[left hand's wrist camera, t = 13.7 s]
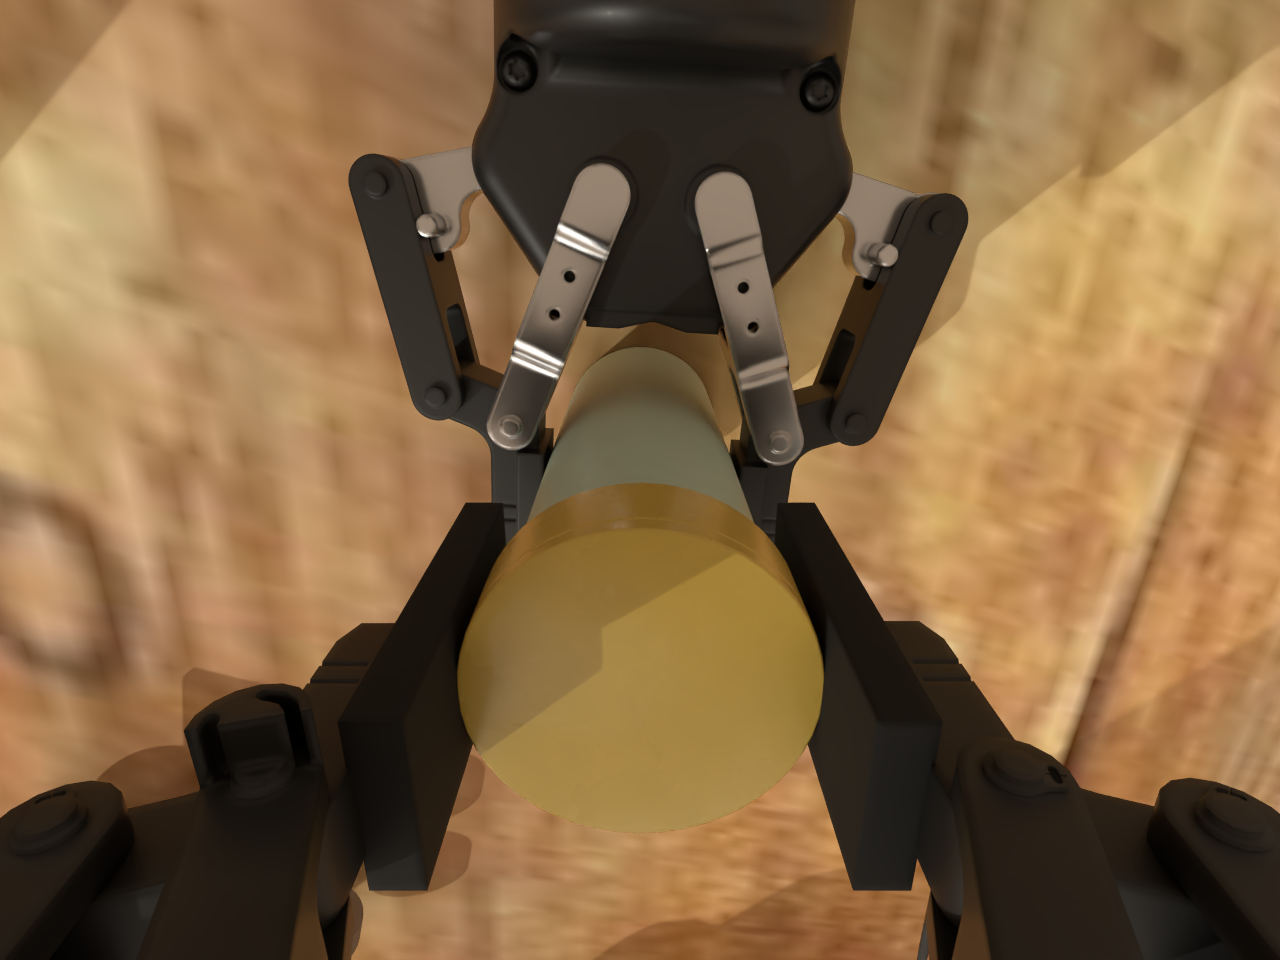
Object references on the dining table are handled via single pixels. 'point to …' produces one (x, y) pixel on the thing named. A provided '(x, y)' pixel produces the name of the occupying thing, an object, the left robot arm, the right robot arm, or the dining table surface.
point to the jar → (640, 432)
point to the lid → (640, 661)
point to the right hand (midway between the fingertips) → (635, 568)
